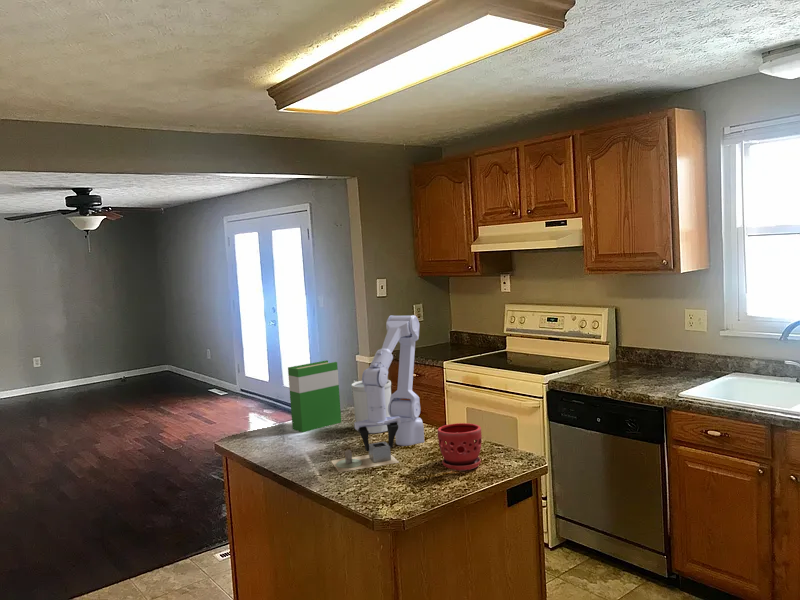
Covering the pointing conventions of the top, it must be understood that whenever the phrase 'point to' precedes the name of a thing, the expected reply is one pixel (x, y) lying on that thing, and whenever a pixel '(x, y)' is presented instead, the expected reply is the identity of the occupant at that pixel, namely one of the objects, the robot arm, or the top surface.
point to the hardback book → (314, 395)
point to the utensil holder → (361, 405)
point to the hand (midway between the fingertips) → (379, 448)
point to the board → (358, 462)
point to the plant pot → (460, 445)
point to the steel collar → (379, 452)
